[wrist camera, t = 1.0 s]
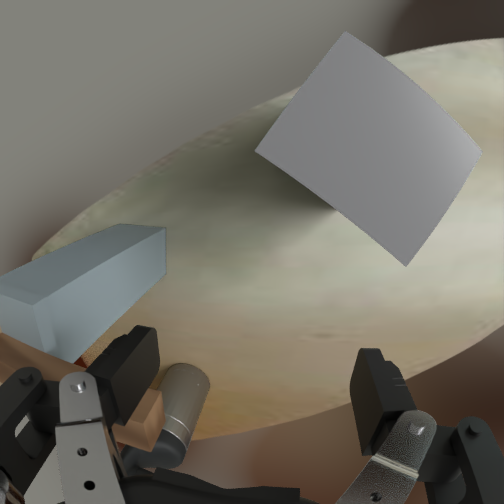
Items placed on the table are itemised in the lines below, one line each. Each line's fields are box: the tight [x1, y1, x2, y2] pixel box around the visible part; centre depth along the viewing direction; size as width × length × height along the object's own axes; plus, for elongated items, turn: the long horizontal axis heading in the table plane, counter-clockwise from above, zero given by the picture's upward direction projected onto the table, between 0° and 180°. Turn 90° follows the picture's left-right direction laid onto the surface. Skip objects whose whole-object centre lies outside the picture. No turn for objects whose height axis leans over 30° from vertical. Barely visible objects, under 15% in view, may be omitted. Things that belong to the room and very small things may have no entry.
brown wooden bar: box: [0, 327, 166, 452], centre depth 15 cm, size 6×22×6 cm, turn 86°
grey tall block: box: [255, 31, 483, 267], centre depth 29 cm, size 12×10×27 cm
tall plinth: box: [0, 224, 166, 364], centre depth 34 cm, size 11×12×32 cm
